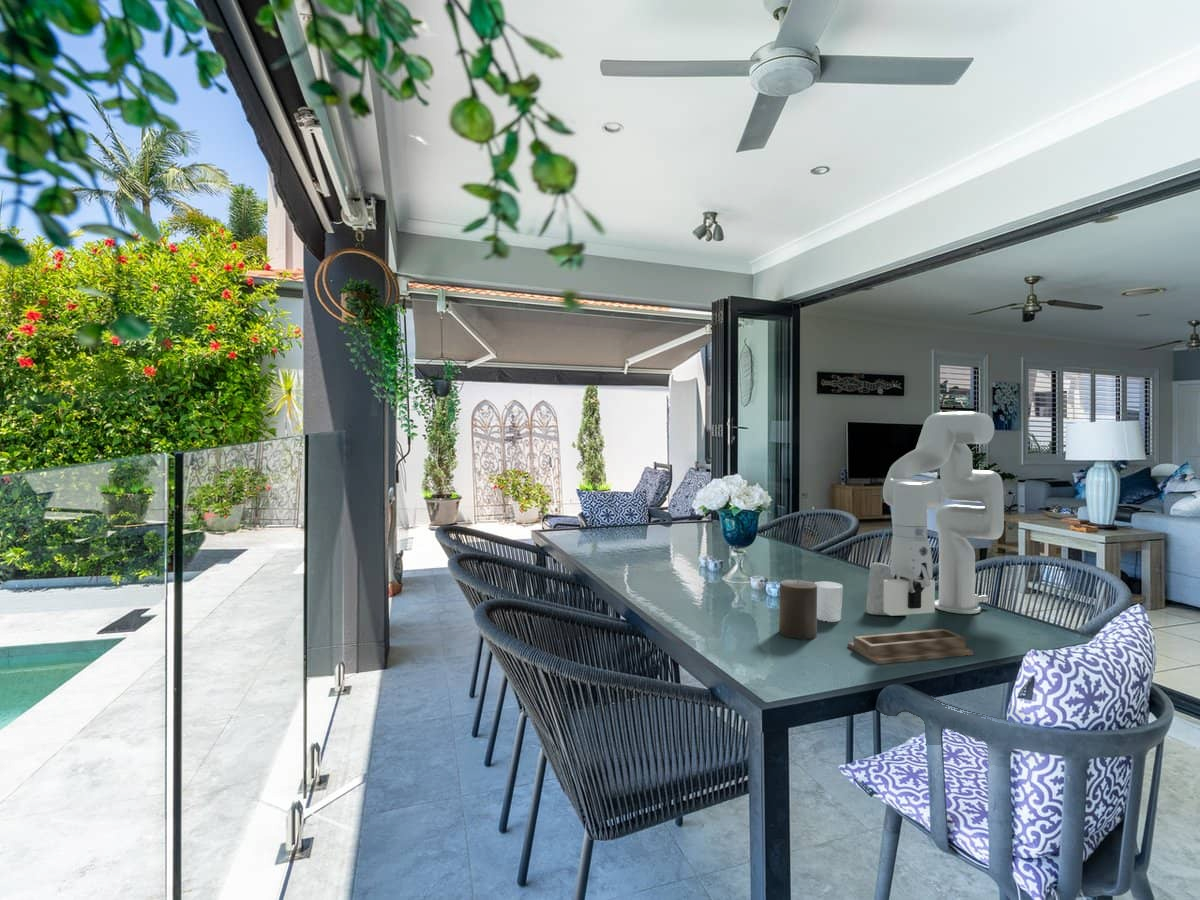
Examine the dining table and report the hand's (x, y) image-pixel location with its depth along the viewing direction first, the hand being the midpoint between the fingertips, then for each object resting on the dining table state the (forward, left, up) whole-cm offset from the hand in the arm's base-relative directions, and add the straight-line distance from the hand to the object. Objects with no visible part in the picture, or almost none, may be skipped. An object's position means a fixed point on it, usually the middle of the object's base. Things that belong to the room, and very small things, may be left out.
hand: (909, 605), depth 154 cm
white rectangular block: (0, 0, -2) cm, 2 cm away
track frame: (0, 0, -11) cm, 11 cm away
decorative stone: (-14, -28, -12) cm, 34 cm away
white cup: (+5, -28, -12) cm, 31 cm away
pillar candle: (+20, -18, -12) cm, 29 cm away
